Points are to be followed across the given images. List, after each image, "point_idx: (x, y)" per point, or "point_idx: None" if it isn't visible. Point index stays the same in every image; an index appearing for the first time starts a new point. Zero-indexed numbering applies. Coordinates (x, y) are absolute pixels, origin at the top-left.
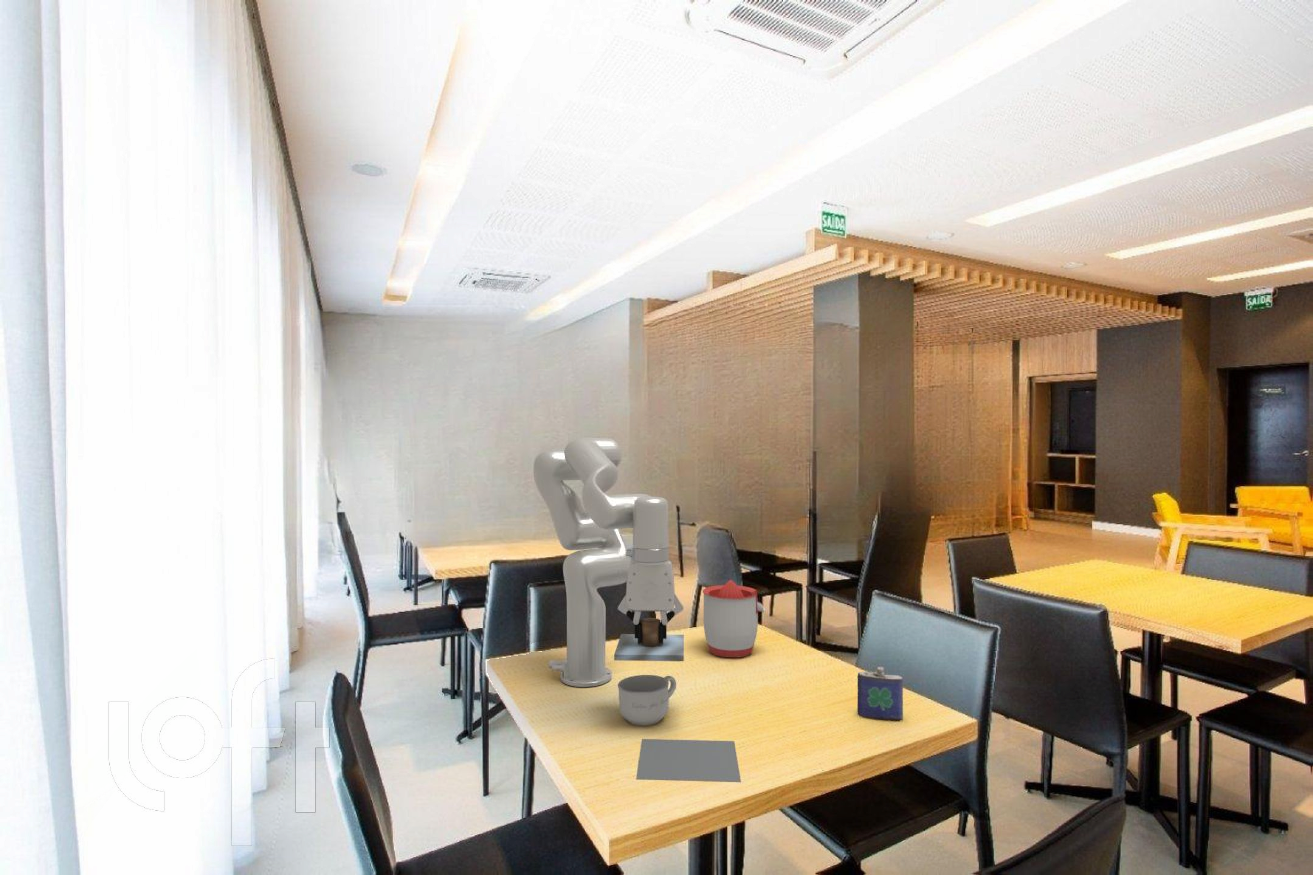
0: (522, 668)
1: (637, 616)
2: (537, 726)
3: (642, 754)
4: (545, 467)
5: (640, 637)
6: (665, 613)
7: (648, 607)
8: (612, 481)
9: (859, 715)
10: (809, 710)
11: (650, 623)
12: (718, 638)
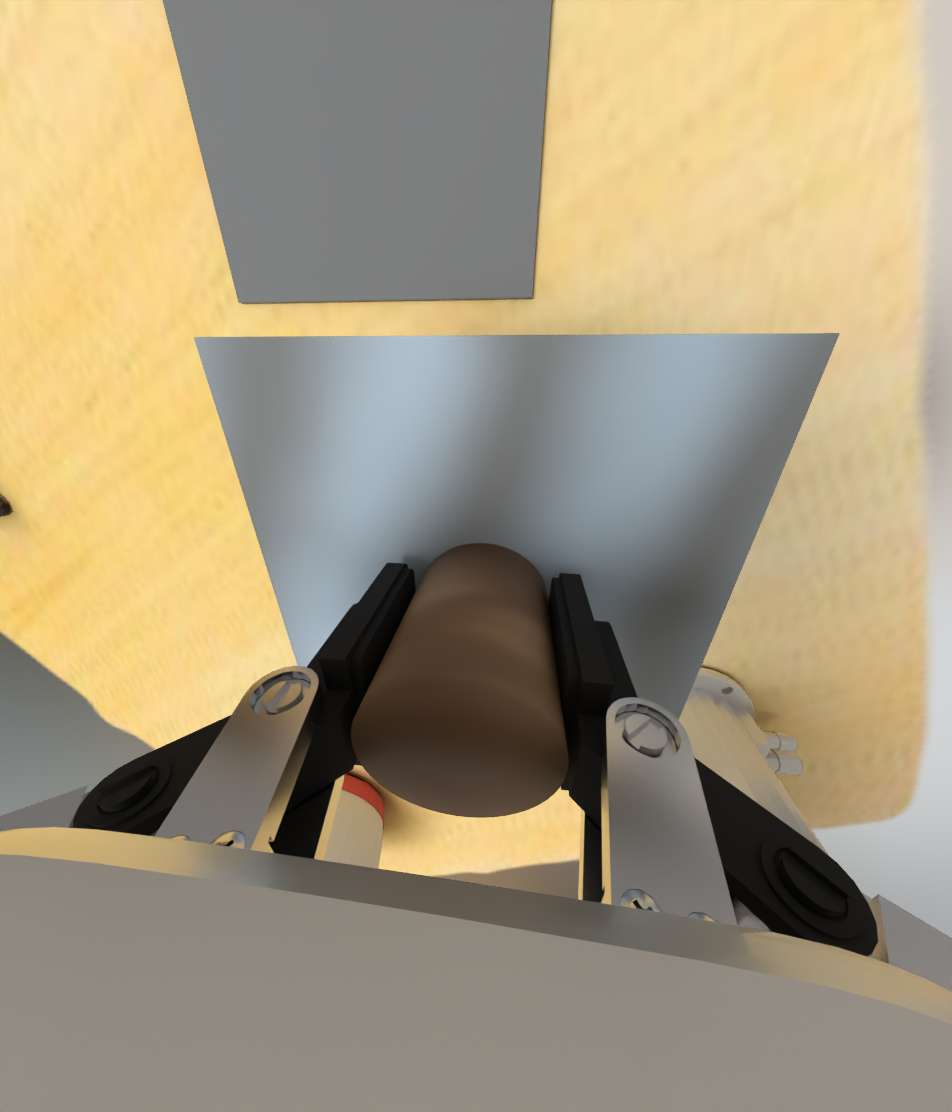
0: (842, 772)
1: (647, 804)
2: (903, 404)
3: (531, 139)
4: None
5: (561, 600)
6: (182, 804)
7: (399, 1048)
8: None
9: (1, 497)
10: (116, 527)
11: (451, 673)
12: (342, 819)
